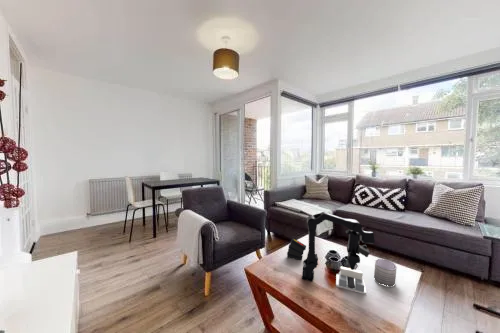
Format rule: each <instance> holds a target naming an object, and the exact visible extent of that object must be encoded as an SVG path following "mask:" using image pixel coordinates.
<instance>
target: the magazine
mask: <svg viewBox="0 0 500 333" xmlns="http://www.w3.org/2000/svg"><path fill="white" fill-rule="evenodd" d="M306 249H307V245H305V244H304V243H302V242H301V241H299V240H297V239H295V238H294V237H293V238H291V241H290V243H289V244H288V249H287V252H286V256H287V257H286V258H287V259H291V260H298V261H302V260H303V258H304V257H303V255H304V251H306Z"/></svg>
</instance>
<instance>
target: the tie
mask: <svg viewBox="0 0 500 333" xmlns="http://www.w3.org/2000/svg"><path fill="white" fill-rule="evenodd" d="M350 268H351V267H345V266H340V268H339V269H340V271H339V272H340V275H344V276H348V277H352V278H356V279H360V280H362V278H363V275H364V274H363V273H364V272H363V271H361V270H358V269H354V270H351V269H350Z"/></svg>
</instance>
